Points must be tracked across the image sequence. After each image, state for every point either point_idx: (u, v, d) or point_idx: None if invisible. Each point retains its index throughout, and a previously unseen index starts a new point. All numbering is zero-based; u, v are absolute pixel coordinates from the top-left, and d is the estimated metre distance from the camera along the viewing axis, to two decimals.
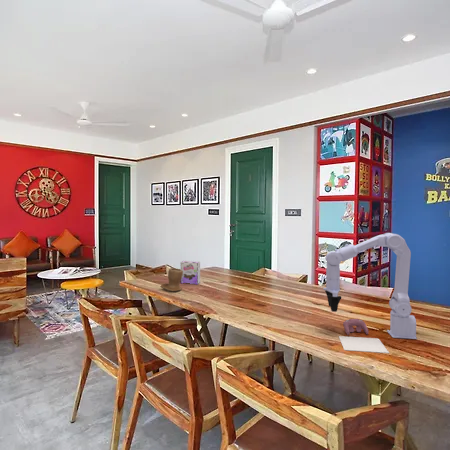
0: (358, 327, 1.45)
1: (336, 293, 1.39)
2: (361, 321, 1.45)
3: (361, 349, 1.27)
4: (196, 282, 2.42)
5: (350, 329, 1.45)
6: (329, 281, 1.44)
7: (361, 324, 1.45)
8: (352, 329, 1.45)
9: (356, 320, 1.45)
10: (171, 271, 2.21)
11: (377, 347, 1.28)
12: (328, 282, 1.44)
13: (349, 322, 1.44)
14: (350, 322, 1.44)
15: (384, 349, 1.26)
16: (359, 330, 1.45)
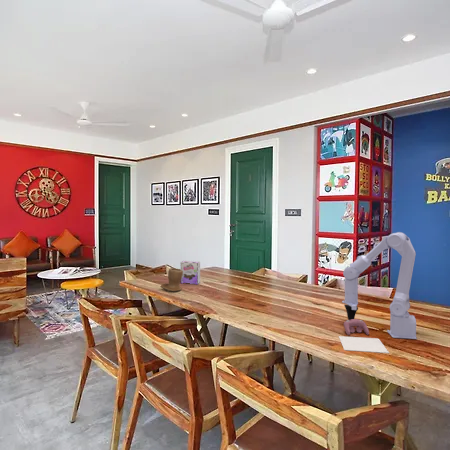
0: (359, 327, 1.45)
1: (355, 306, 1.47)
2: (362, 321, 1.44)
3: (361, 349, 1.27)
4: (196, 282, 2.42)
5: (351, 329, 1.44)
6: (348, 295, 1.52)
7: (362, 324, 1.44)
8: (353, 329, 1.44)
9: (357, 320, 1.44)
10: (171, 271, 2.21)
11: (377, 347, 1.28)
12: (347, 295, 1.52)
13: (350, 322, 1.44)
14: (351, 322, 1.44)
15: (384, 349, 1.26)
16: (360, 330, 1.44)
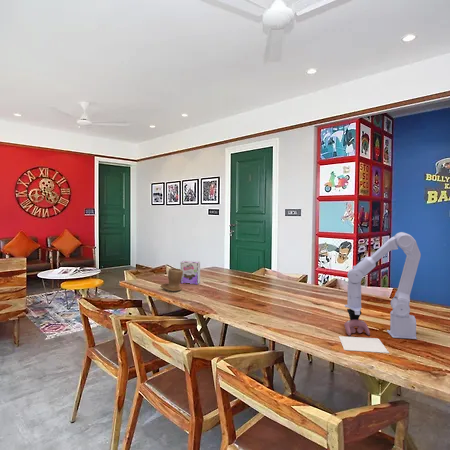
0: (359, 328, 1.44)
1: (358, 311, 1.40)
2: (362, 322, 1.44)
3: (361, 349, 1.27)
4: (196, 282, 2.42)
5: (351, 330, 1.43)
6: (351, 298, 1.45)
7: (362, 325, 1.43)
8: (353, 330, 1.43)
9: (357, 321, 1.43)
10: (171, 271, 2.21)
11: (377, 347, 1.28)
12: (350, 299, 1.46)
13: (350, 323, 1.43)
14: (351, 323, 1.43)
15: (384, 349, 1.26)
16: (360, 331, 1.43)
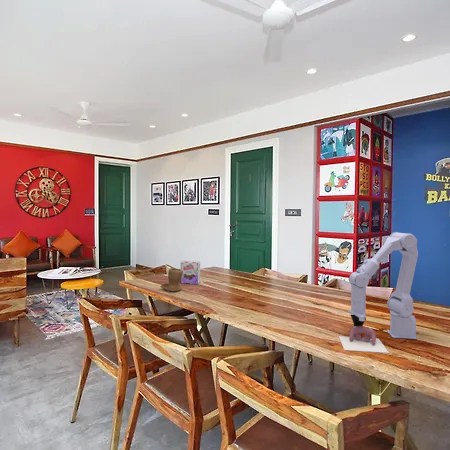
0: (366, 336, 1.34)
1: (363, 317, 1.32)
2: (370, 330, 1.33)
3: (361, 349, 1.27)
4: (196, 282, 2.42)
5: (357, 336, 1.36)
6: (354, 304, 1.37)
7: (369, 333, 1.33)
8: (359, 337, 1.35)
9: (364, 328, 1.34)
10: (171, 271, 2.21)
11: (377, 347, 1.28)
12: (353, 304, 1.38)
13: (355, 328, 1.36)
14: (356, 329, 1.35)
15: (384, 349, 1.26)
16: (367, 339, 1.34)
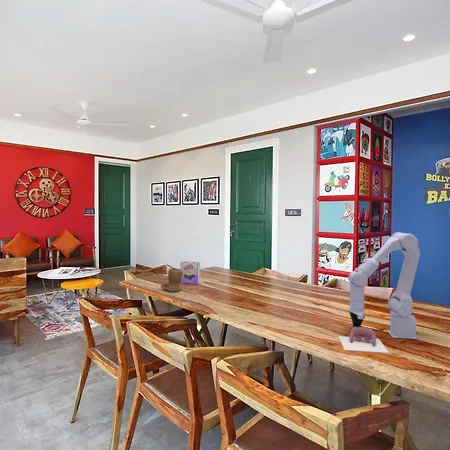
0: (366, 337, 1.33)
1: (362, 315, 1.35)
2: (370, 331, 1.33)
3: (361, 349, 1.27)
4: (196, 282, 2.42)
5: (357, 337, 1.35)
6: (353, 302, 1.40)
7: (369, 334, 1.32)
8: (359, 337, 1.34)
9: (364, 328, 1.34)
10: (171, 271, 2.21)
11: (377, 347, 1.28)
12: (352, 303, 1.40)
13: (355, 329, 1.35)
14: (356, 330, 1.34)
15: (384, 349, 1.26)
16: (367, 340, 1.33)
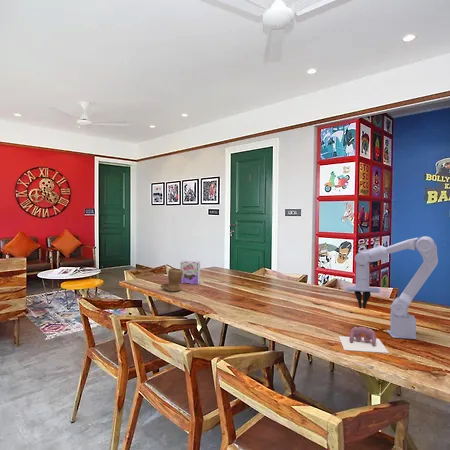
0: (366, 337, 1.33)
1: (345, 288, 1.50)
2: (370, 331, 1.33)
3: (361, 349, 1.27)
4: (196, 282, 2.42)
5: (357, 337, 1.35)
6: None
7: (369, 334, 1.32)
8: (359, 338, 1.34)
9: (364, 329, 1.33)
10: (171, 271, 2.21)
11: (377, 347, 1.28)
12: None
13: (355, 329, 1.35)
14: (356, 330, 1.34)
15: (384, 349, 1.26)
16: (367, 340, 1.33)
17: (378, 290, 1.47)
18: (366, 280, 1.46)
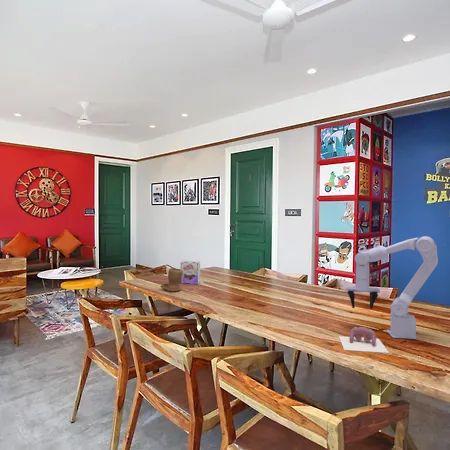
0: (366, 337, 1.33)
1: (345, 288, 1.50)
2: (370, 331, 1.32)
3: (361, 349, 1.27)
4: (196, 282, 2.42)
5: (356, 337, 1.35)
6: None
7: (369, 334, 1.32)
8: (359, 338, 1.34)
9: (364, 329, 1.33)
10: (171, 271, 2.21)
11: (377, 347, 1.28)
12: None
13: (355, 329, 1.35)
14: (356, 330, 1.34)
15: (384, 349, 1.26)
16: (367, 340, 1.33)
17: (378, 290, 1.47)
18: (366, 280, 1.46)
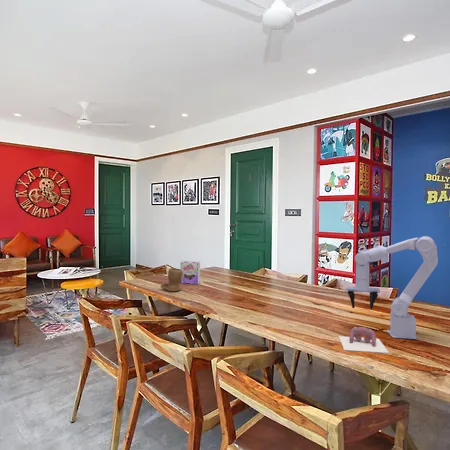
0: (366, 337, 1.33)
1: (345, 288, 1.50)
2: (370, 331, 1.32)
3: (361, 349, 1.27)
4: (196, 282, 2.42)
5: (356, 337, 1.34)
6: None
7: (369, 334, 1.32)
8: (359, 338, 1.34)
9: (364, 329, 1.33)
10: (171, 271, 2.21)
11: (377, 347, 1.28)
12: None
13: (355, 330, 1.34)
14: (356, 330, 1.34)
15: (384, 349, 1.26)
16: (367, 340, 1.33)
17: (378, 290, 1.47)
18: (366, 280, 1.46)
